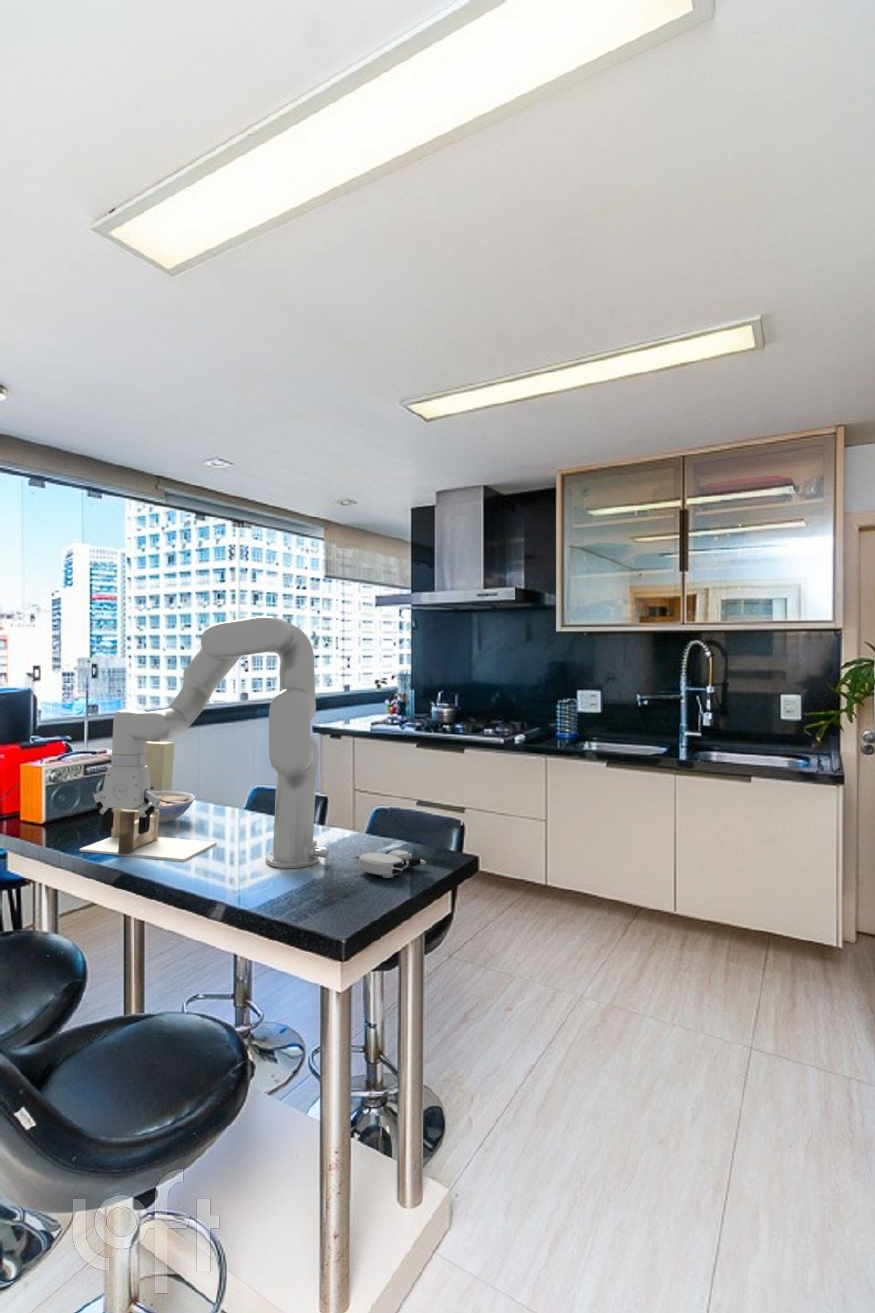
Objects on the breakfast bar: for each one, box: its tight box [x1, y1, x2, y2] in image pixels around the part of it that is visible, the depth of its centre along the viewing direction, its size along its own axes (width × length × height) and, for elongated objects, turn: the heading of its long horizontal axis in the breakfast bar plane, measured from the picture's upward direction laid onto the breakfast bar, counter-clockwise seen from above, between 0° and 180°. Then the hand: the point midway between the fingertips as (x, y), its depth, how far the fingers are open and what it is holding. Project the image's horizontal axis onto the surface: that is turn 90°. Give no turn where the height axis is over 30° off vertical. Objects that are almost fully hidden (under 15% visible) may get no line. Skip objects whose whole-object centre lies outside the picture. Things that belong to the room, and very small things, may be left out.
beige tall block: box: [146, 741, 175, 791], centre depth 200 cm, size 8×7×21 cm
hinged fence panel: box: [118, 811, 156, 854], centre depth 153 cm, size 12×3×10 cm, turn 173°
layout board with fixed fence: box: [79, 808, 218, 862], centre depth 155 cm, size 28×16×8 cm, turn 81°
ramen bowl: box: [135, 787, 196, 826], centre depth 179 cm, size 25×23×8 cm
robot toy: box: [351, 849, 427, 876], centre depth 145 cm, size 12×4×15 cm
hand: (125, 831), depth 149 cm, fingers open, 9 cm apart
